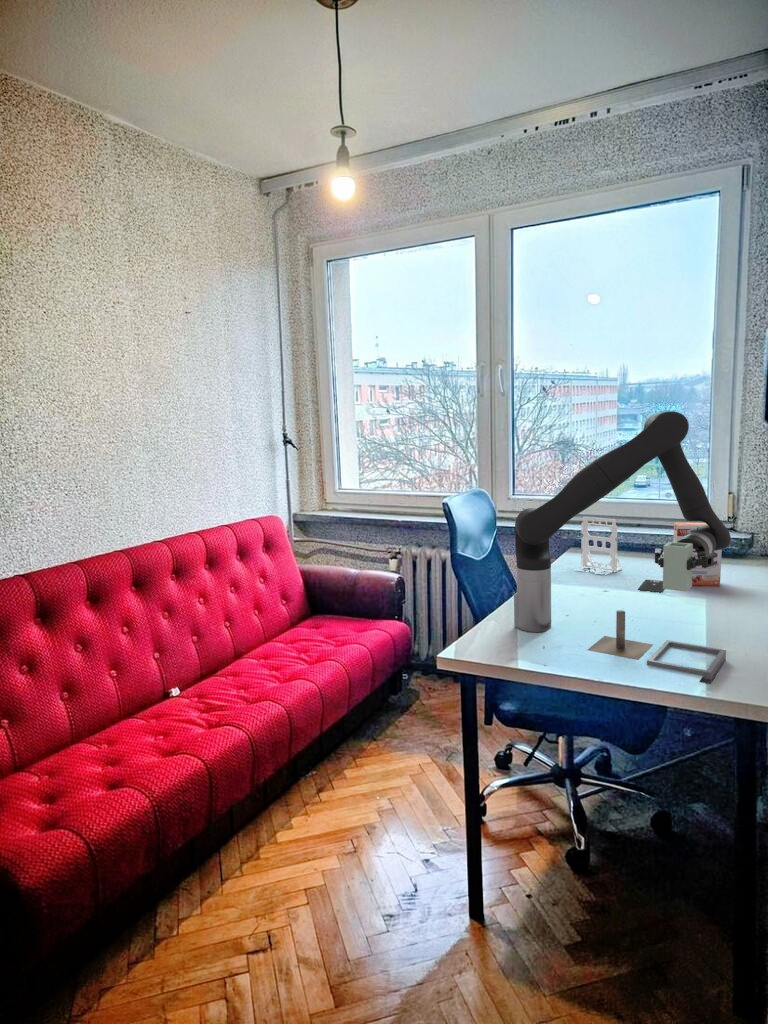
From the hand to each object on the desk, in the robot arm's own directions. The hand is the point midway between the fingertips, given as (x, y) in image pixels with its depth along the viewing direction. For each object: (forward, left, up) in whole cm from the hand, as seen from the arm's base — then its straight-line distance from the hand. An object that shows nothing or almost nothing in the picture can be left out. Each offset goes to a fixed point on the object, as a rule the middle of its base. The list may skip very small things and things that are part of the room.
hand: (675, 564), depth 139 cm
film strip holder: (-48, +83, -24) cm, 99 cm away
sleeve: (0, +3, -6) cm, 7 cm away
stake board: (-13, +2, -24) cm, 27 cm away
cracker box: (-13, +79, -24) cm, 84 cm away
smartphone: (-24, +69, -25) cm, 77 cm away
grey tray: (+2, +2, -24) cm, 24 cm away
